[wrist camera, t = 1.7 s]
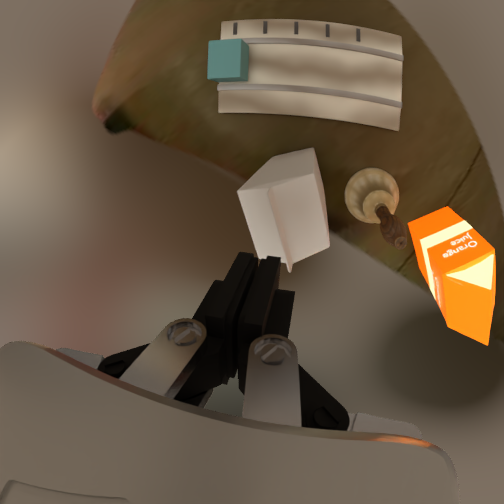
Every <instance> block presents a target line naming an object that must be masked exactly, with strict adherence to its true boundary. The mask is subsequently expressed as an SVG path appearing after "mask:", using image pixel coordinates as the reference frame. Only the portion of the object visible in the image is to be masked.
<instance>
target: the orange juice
mask: <svg viewBox="0 0 504 504" xmlns="http://www.w3.org/2000/svg"><path fill="white" fill-rule="evenodd" d="M408 225H409V229H410V232H411V236H412V240H413V243H414V247H415V251H416V255H417V259H418V264H419V268H420V270H421V272H422V274H423V276H424V278H425V279H426V281H427V283H428V285H429V287H430V290H431V292H432V294H433V296H434V298H435V300H436V301H437V303H438V305H439V307H440V309H441V311H442V313H443V315H444V317H445V320H446V322H447V326H448V327H449V328H452V329H454V330H456V331H458V332H460V333H462V334H464V335H466V336H469V337H471V338H473V339H475V340H477V341H479V342H481V343H483V344H485V345H488V341H489V332H490V326H491V320H492V314H493V307H494V304H495V249H494V248H493V247H492V246H491V245H490V244H489V243H488V242H487V241H486V240H485V239H484V238H483V237H482V236H480V235H479V234H478V233H477V232H476V231H475V230H474V229H473V228H472V227H471V226H470V225H469V224H468V223H467V222H466V221H465V220H463V219H462V218H461V217H459V216H458V215H457V214H456V213H455V212H454V211H452V210H451V209H450V208H449V207H448V206H447V207H445V208H442V209H440V210H438V211H435V212H433V213H431V214H428V215H426V216H424V217H421V218H419V219H416V220H414V221H412V222H409V223H408Z"/></svg>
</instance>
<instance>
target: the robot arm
mask: <svg viewBox="0 0 504 504" xmlns="http://www.w3.org/2000/svg"><path fill="white" fill-rule="evenodd" d="M280 265H281V257H276V256H267V258H266V259H263V258H262V259H261V261H260V264H259V266H258V258H256V257H254V255H253V254H252V253H245V252H239V254H238V255H237V257H236V259H235V261H234V263H233V264H232V266H231V268H230V270H229V272H228V274H227V276H226V277H225V279H224V281H220V280H215V281H214V282H213V284H212V285H211V287H210V289H209V291H208V292H207V294H206V296H205V298H204V299H203V301H202V302H201V304H200V306H199V308H198V309H197V311H196V313H195V314H194V316H193V318H192V319H189V318H186V319H185V318H183V319H178V320H175V321H173V322H171V323H169V324H168V325H167V326H166V327H165V328H164V329H163V330H162V331H161V332H160V334H159V335H158V336H157V337H156V338H155V339H154V340H153V341H152V342H151V343H149V344H146V345H143V346H139V347H136V348H133V349H130V350H127V351H123V352H120V353H117V354H113V355H111V356H109V357H106V358H104V357H103V355H98V354H93V353H87V352H82V351H77V350H72V349H68V348H60V349H56V350H54V349H52V348H50V347H47V346H44V345H41V344H37V343H33V342H26V341H14V342H9V343H7V344H5V345H4V346H2V347H1V348H0V504H460V493H459V484H458V480H457V474H456V470H455V467H454V464H453V462H452V460H451V458H450V456H449V455H448V454H447V453H446V452H445V451H444V450H443V449H441V448H440V447H438V446H436V445H434V444H432V443H429V442H427V441H424V440H422V435H421V432H420V431H419V429H418V428H417V427H416V426H415V425H413V424H410V423H407V422H401V421H396V420H391V419H386V418H381V417H377V416H372V415H368V414H364V413H360V412H358V413H357V414H352V413H348V412H347V411H346V409H345V408H344V407H343V406H342V405H341V404H340V403H339V402H338V401H337V400H336V399H335V398H333V397H332V396H331V395H330V394H329V393H328V392H327V391H326V390H325V389H324V388H323V387H322V386H321V385H320V384H319V383H317V381H316V380H315V379H313V378H312V377H311V376H310V375H309V374H308V373H307V372H306V371H305V370H304V369H303V368H302V367H301V366H300V365H299V364H298V356H297V349H296V346H295V345H294V343H293V342H292V341H291V340H289V339H288V334H289V328H290V321H291V315H292V309H293V302H294V295H295V291H287V290H280V289H278V286H279V276H280ZM237 369H238V379H239V389H240V391H241V392H242V393H243V394H244V404H243V413H242V417H237V416H232V415H228V414H224V413H220V412H216V411H212V410H208V409H204V407H205V405H206V403H207V402H208V400H209V398H210V397H211V395H212V393H213V388H214V387H217V386H219V385H221V384H226V385H227V383H228V380H229V377H231V378H234V377H235V375H236V372H237Z"/></svg>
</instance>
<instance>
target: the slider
mask: <svg viewBox="0 0 504 504" xmlns="http://www.w3.org/2000/svg"><path fill="white" fill-rule="evenodd" d="M248 63H249V46H248V45H247V44H246V43H245V42H244V41H243V40H242V39H226V40H215V41H209V50H208V77H207V79H210V80H213V81H216V82H235V81H248Z"/></svg>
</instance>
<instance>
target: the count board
mask: <svg viewBox="0 0 504 504" xmlns="http://www.w3.org/2000/svg"><path fill="white" fill-rule="evenodd" d="M226 39H242V40H243V41H244V42H245V43H246V44H247V45H248V46H249V63H248V81H235V82H219V85H218V86H217V90H219V108H218V113H266V114H284V115H297V116H308V117H318V118H326V119H334V120H341V121H348V122H354V123H360V124H366V125H371V126H376V127H381V128H386V129H391V130H396V131H399V123H400V110H401V108H402V102H401V93H402V61H403V55H402V37H401V36H398V35H394V34H390V33H386V32H382V31H378V30H373V29H368V28H363V27H358V26H352V25H345V24H338V23H330V22H321V21H310V20H292V19H254V20H236V21H225V22H222V23H221V40H226Z"/></svg>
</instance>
